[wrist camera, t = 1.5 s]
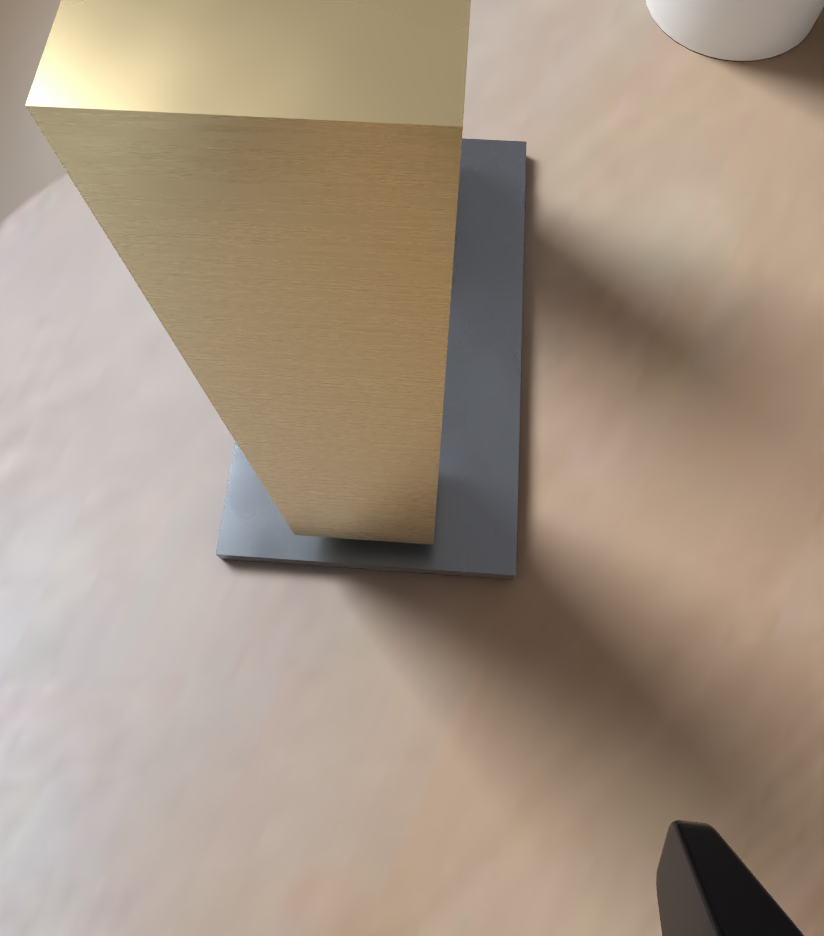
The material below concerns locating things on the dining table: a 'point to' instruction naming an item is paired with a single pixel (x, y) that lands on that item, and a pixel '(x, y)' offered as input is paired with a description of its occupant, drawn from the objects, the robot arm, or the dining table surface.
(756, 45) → the cylindrical container
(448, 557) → the bolt plate
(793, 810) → the dining table surface
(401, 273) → the sliding leg
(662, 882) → the robot arm
